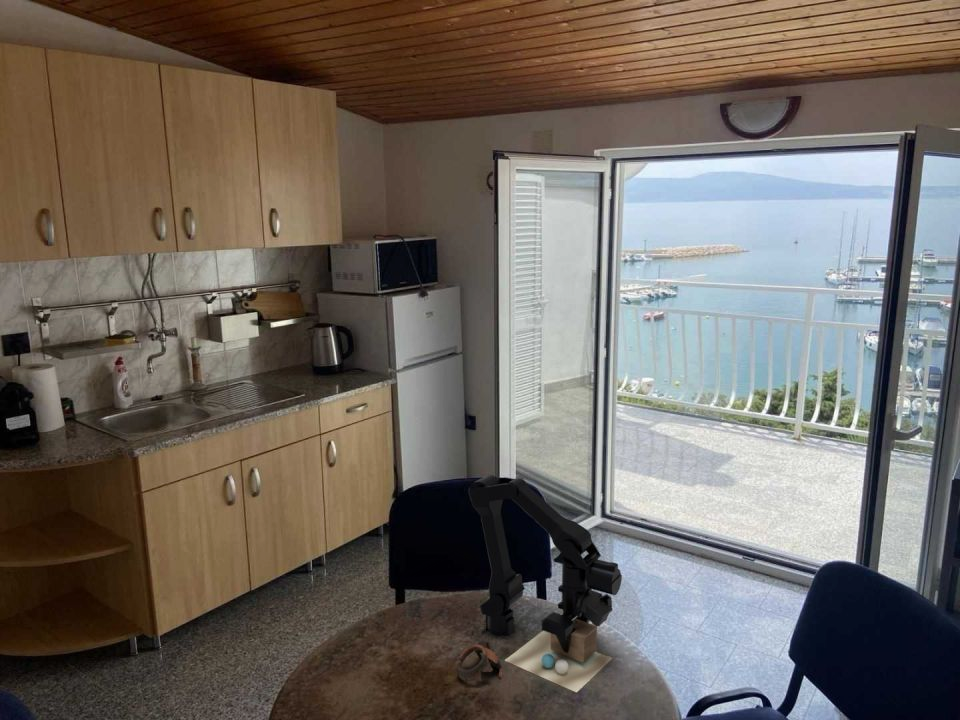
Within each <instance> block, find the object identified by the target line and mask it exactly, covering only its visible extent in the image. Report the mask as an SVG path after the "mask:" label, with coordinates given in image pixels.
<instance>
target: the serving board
mask: <svg viewBox="0 0 960 720" xmlns="http://www.w3.org/2000/svg"><path fill="white" fill-rule="evenodd" d="M545 654H551V655H552V656H553V657H554V659H555V663H554V665H553V666H552V667H551V668H546V667H544V666H543V665H542V662H541V659H542V657H543V655H545ZM560 659H563V660H565V661H566V662H567V663H568V666H569V668H568V671H567V672H566V673H564V674H560V673H558V672H557V671H556V669H555V664H556V662H557V661H558V660H560ZM612 660H613V657H611V656H609V655H606V654H604V653H600V652H598V651H597V650H596V651H595V652H594V653H593V654H592V655H591V656H590V657H589V658H588V659H587V660H585V661H584V662H583V663H582V662H580V661H577V660H575V659H573V658H570V657H568V656H565V655H563V654H561V653H558V652H556V651H553V650H551V633H549V632H546V631H544V630H542V631H541V632H539V633H538V634H537V635H535V636H534V637H533V638H532V639H530V640H529V641H528V642H526V643H525V644H524V645H522V646H521V647H520V648H519V649H518V650H516V651H515V652H514V653H512V654H511V655H510V656H508V657H507V658H506V659H504V662H507V663H509V664H512V665H514V666H516V667H518V668H520V669H522V670H525V671H527V672H530V673H532V674H534V675H536V676H539V677H541V678H543V679H545V680H548V681H550V682H552V683H553V684H554V683H555V684H556V685H559V686H561V687H563V688H565V689H568V690H570V691H572V692H575V693H578V692H579V691H580V690H581V689H582V688H583V687H584V686H585V685H586V684H588V682H590V680H592V678H594V676H595V675H597V674H598V673H599V672H600V671H601V670H602V669H603V668H604V667H605V666H606V665H607V664H608V663H609V662H610V661H612Z"/></svg>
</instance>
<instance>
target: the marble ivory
mask: <svg viewBox="0 0 960 720" xmlns="http://www.w3.org/2000/svg"><path fill="white" fill-rule="evenodd" d="M568 668H569V666H568V663H567V662H566V661H565V660H563V659H560V660H558V661H557V662H556V664H555V669H556V671H557V672H558V673H560V674H564V673H566V672H567V671H568Z"/></svg>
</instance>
